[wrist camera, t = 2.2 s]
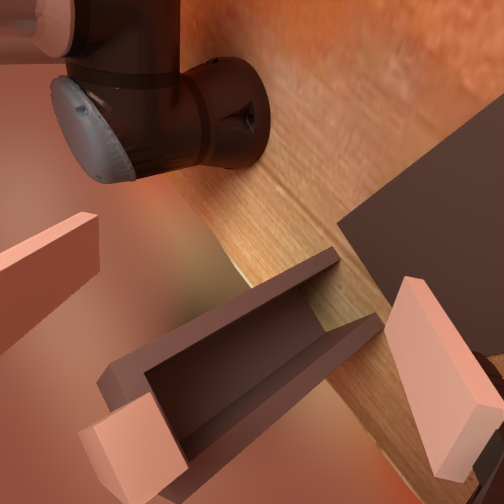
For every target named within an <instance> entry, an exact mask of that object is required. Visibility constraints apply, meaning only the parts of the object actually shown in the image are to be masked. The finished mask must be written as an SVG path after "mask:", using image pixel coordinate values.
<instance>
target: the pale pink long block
mask: <svg viewBox="0 0 504 504" xmlns="http://www.w3.org/2000/svg"><path fill="white" fill-rule="evenodd" d="M78 436H79V437H80V440H81V442H82V444H83V446H84V449H85V451H86V453H87V455H88V457H89V460H90V461H91V464H92V466H93V468H94V470H95V472H96V475H97V477H98V479H99V481H100V482H101V483H102V484H103V485H104V486H105V487H106V488H107V489H108V490H109V491H111V492H112V493H113V494H114V495H115V496H116V497H117V498H118V499H119V500H120V501H121V502H122V503H124V504H145V503H146V502H148V501H149V500H150V499H151V498H152V497H153V496H155V495H156V494H157V493H159V492H160V491H161V490H162V489H164V488H165V487H166V486H167V485H168V484H170V483H171V482H172V481H173V480H175V479H176V478H177V477H178V476H180V475H181V474H182V473H183V472H184V471H186V470H187V469H188V466H187V464H186V462H185V460H184V458H183V456H182V454H181V452H180V450H179V448H178V446H177V444H176V442H175V440H174V438H173V436H172V434H171V432H170V430H169V428H168V427H167V425H166V423H165V421H164V419H163V417H162V415H161V413H160V411H159V409H158V407H157V405H156V403H155V401H154V399H153V397H152V395H151V393H150V392H149V393H147V394H145V395H143V396H141V397H139V398H137V399H135V400H133V401H132V402H130V403H128V404H126V405H124V406H122V407H120V408H118V409H116V410H114V411H113V412H111V413H110V414H108V415H106V416H104V417H103V418H101V419H99V420H98V421H96V422H94V423H93V424H91V425H90V426H88V427H86V428H85V429H83V430H81V431H80V432H78Z"/></svg>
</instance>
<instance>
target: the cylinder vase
mask: <svg viewBox="0 0 504 504" xmlns="http://www.w3.org/2000/svg"><path fill="white" fill-rule="evenodd" d="M61 63H62V64H66V62H65V58H53V57H50V56H48V55H47V54H45V53H44V52H43V51H42V50H41V49H39V48H38V47H37V46H36V45H35V44H34V43H32V42H31V41H30V40H29V39H27V38H0V64H1V65H2V64H4V65H5V64H61Z"/></svg>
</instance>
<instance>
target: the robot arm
mask: <svg viewBox="0 0 504 504" xmlns="http://www.w3.org/2000/svg"><path fill="white" fill-rule="evenodd" d="M0 38H27V39H29V40H30V41H31V42H32V43H34V44H35V45H36V46H37V47H38V48H39V49H41V50H42V51H43V52H44V53H45V54H47V55H48V56H50V57H53V58H65V62H66V68H67V76H65V75H61V76H59V77H58V78H55V79H53V80H52V82H51V85H50V88H51V99H52V104H53V108H54V111H55V114H56V117H57V120H58V123H59V125H60V128H61V130H62V133H63V135H64V137H65V140H66V142H67V144H68V146H69V148H70V150H71V151H72V153H73V155H74V157H75V158H76V160H77V162H78V163H79V165H80V166H81V167H82V169H83V170H84V171H85V172H86V173H87V175H88V176H90V177H91V178H92V179H93V180H95V181H97V182H99V183H103V184H112V183H119V182H126V181H131V182H132V181H136V179H140V178H144V177H149V176H153V175H157V174H161V173H166V172H170V171H174V170H179V169H183V168H187V167H192V166H196V165H204V166H212V167H221V168H225V169H238V168H242V167H246V166H249V165H251V164H253V163H254V162H255V161H256V160H257V159H258V158H259V157H260V156H261V154H262V152H263V151H264V148H265V146H266V143H267V140H268V135H269V129H270V110H269V103H268V98H267V94H266V91H265V88H264V86H263V83H262V81H261V79H260V77H259V75H258V74H257V72H256V71H255V70H254V68H253V67H252V66H251V65H250V64H249V63H247V62H246V61H245V60H243V59H241V58H238V57H216V58H213V59H211V60H209V61H207V62H206V63H203V64H200V65H198V66H196V67H194V68H192V69H190V70H188V71H186V72H184V73H180V0H0ZM99 271H100V260H99V223H98V215H95V214H90V213H85V212H80V213H78V214H76V215H74V216H72V217H70V218H68V219H66V220H64V221H63V222H61V223H59V224H57V225H55V226H53V227H51V228H49V229H47V230H45V231H43V232H41V233H39V234H37V235H35V236H33V237H31V238H29V239H27V240H25V241H23V242H21V243H20V244H18V245H16V246H14V247H12V248H10V249H8V250H6V251H4V252H2V253H0V356H1V355H2V354H3V353H4V352H5V351H7V350H8V349H9V348H10V347H11V346H12V345H14V344H15V343H16V342H17V341H18V340H20V338H22V337H23V336H24V335H25V334H26V333H28V332H29V331H30V330H31V329H33V328H34V327H35V326H36V325H37V324H38V323H40V322H41V321H42V320H43V319H44V318H45V317H47V316H48V315H49V314H50V313H51V312H52V311H54V310H55V309H56V308H57V307H58V306H60V305H61V304H62V303H63V302H64V301H65V300H67V299H68V298H69V297H70V296H71V295H72V294H74V293H75V292H76V291H77V290H78V289H80V288H81V287H82V286H83V285H84V284H85V283H87V282H88V281H89V280H90V279H91V278H92V277H94V276H95V275H96V274H97V273H98V272H99ZM384 332H385V335H386V338H387V341H388V344H389V347H390V349H391V352H392V355H393V358H394V361H395V364H396V367H397V370H398V373H399V376H400V378H401V381H402V384H403V387H404V390H405V393H406V396H407V399H408V402H409V404H410V407H411V410H412V413H413V416H414V419H415V422H416V425H417V428H418V431H419V433H420V436H421V439H422V442H423V445H424V448H425V451H426V454H427V457H428V459H429V462H430V465H431V468H432V471H433V474H434V477H437V478H442V479H446V480H450V481H455V482H459V483H464V482H465V480H466V478H467V477H468V475H469V474H470V472H471V471H472V469H473V470H474V472H475V474H476V476H477V479H478V481H479V483H480V484H479V485H478V487H477V488H476V490H475V491H474V493H473V494H472V496H471V497H470V499H469V500H468V502H467V503H466V504H504V379H502V376H501V374H500V373H499V371H498V370H497V369H496V367H495V366H494V364H492V363H491V362H490V361H489V360H488V359H487V358H486V357H484V356H483V355H482V354H481V353H480V352H475V351H471V350H470V349H469V348H468V346H467V345H466V343H465V342H464V340H463V339H462V337H461V336H460V334H459V333H458V331H457V330H456V328H455V327H454V325H453V323H452V322H451V320H450V319H449V317H448V316H447V314H446V313H445V311H444V310H443V308H442V307H441V305H440V304H439V302H438V301H437V299H436V298H435V296H434V295H433V293H432V292H431V290H430V289H429V287H428V286H427V284H426V283H425V281H424V280H423V279H418V278H413V277H408V276H404V279H403V282H402V284H401V287H400V289H399V292H398V295H397V297H396V300H395V303H394V305H393V308H392V310H391V313H390V316H389V318H388V321H387V323H386V326H385V329H384Z"/></svg>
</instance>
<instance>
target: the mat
mask: <svg viewBox="0 0 504 504" xmlns="http://www.w3.org/2000/svg"><path fill="white" fill-rule="evenodd" d="M337 225H338V226H339V228H340V229H341V231H342V232H343V234H344V235H345V237H346V238H347V240H348V241H349V243H350V244H351V246H352V247H353V249H354V250H355V252H356V253H357V255H358V256H359V258H360V259H361V261H362V262H363V264H364V265H365V267H366V268H367V270H368V271H369V273H370V274H371V276H372V277H373V279H374V280H375V282H376V283H377V285H378V286H379V288H380V289H381V291H382V292H383V294H384V295H385V297H386V298H387V300H388V301H389V303H390V304H391V306H392V307H393V305H394V303H395V300H396V297H397V295H398V292H399V289H400V287H401V284H402V282H403V279H404V276H408V277H413V278H418V279H423V280H424V281H425V283H426V284H427V286H428V287H429V289H430V290H431V292H432V293H433V295H434V296H435V298H436V299H437V301H438V302H439V304H440V305H441V307H442V308H443V310H444V311H445V313H446V314H447V316H448V317H449V319H450V320H451V322H452V323H453V325H454V327H455V328H456V330H457V331H458V333H459V334H460V336H461V337H462V339H463V340H464V342H465V343H466V345H467V346H468V348H469V349H470V350H471V351H475V352H480V353H481V354H482V355H483V356H484V357H485V356H490V355H495V354H500V353H504V94H502V95H501V96H500V97H498V98H497V99H496V100H495V101H493V102H492V103H491V104H489V105H488V106H487V107H486V108H484V109H483V110H482V111H480V112H479V113H478V114H476V115H475V116H474V117H473V118H471V119H470V120H469V121H467V122H466V123H465V124H464V125H462V126H461V127H460V128H458V129H457V130H456V131H455V132H453V133H452V134H451V135H449V136H448V137H447V138H446V139H444V140H443V141H442V142H440V143H439V144H438V145H437V146H435V147H434V148H433V149H431V150H430V151H429V152H428V153H426V154H425V155H424V156H422V157H421V158H420V159H419V160H417V161H416V162H415V163H413V164H412V165H411V166H410V167H408V168H407V169H406V170H404V171H403V172H402V173H401V174H399V175H398V176H397V177H395V178H394V179H393V180H392V181H390V182H389V183H388V184H386V185H385V186H384V187H383V188H381V189H380V190H379V191H377V192H376V193H375V194H374V195H372V196H371V197H370V198H368V199H367V200H366V201H365V202H363V203H362V204H361V205H359V206H358V207H357V208H356V209H354V210H353V211H352V212H350V213H349V214H348V215H347V216H345V217H344V218H343V219H341V220H340V221H339V222H338V223H337Z"/></svg>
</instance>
